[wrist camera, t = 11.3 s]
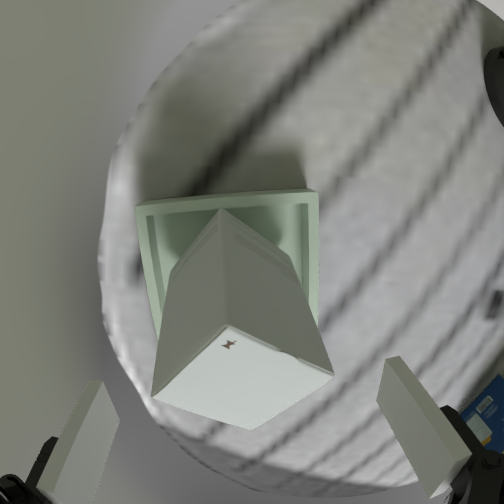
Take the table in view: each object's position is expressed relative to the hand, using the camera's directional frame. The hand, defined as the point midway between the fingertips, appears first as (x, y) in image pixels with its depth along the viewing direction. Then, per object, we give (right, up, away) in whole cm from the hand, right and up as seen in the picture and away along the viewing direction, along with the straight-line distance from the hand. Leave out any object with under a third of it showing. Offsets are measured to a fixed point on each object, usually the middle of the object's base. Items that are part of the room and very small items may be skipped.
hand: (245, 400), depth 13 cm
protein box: (+51, -27, +35) cm, 67 cm away
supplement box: (-2, +5, +18) cm, 19 cm away
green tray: (-2, +2, +22) cm, 22 cm away
